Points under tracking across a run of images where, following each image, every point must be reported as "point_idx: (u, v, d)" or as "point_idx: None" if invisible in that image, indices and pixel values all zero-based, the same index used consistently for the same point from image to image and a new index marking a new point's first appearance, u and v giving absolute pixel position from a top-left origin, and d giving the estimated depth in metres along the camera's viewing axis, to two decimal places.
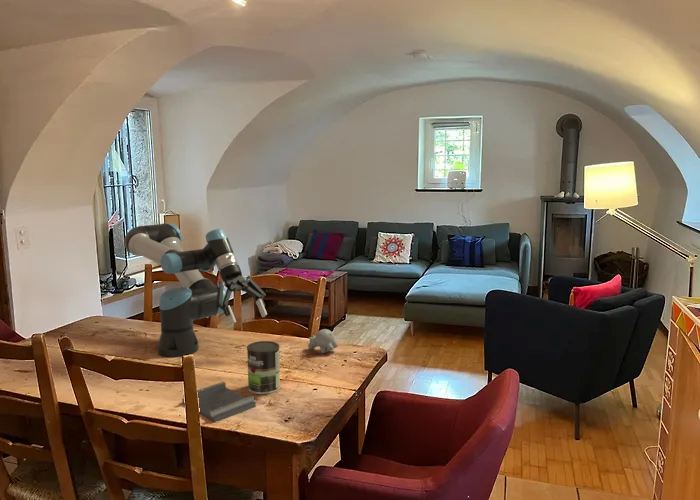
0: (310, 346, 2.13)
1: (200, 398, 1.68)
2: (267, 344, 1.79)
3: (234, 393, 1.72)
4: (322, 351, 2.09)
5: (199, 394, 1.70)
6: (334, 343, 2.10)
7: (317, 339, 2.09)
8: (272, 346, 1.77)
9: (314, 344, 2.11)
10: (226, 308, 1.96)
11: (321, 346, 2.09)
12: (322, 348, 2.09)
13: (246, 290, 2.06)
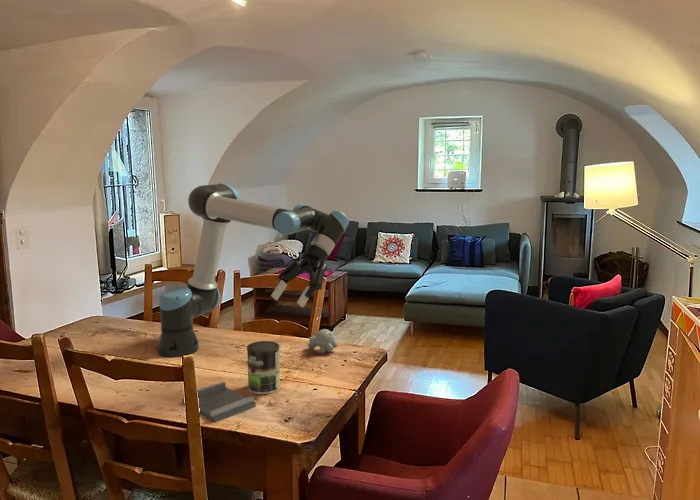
0: (310, 346, 2.13)
1: (200, 398, 1.68)
2: (267, 344, 1.79)
3: (234, 393, 1.72)
4: (322, 351, 2.09)
5: (199, 394, 1.70)
6: (334, 343, 2.10)
7: (317, 339, 2.09)
8: (272, 346, 1.77)
9: (314, 344, 2.11)
10: None
11: (321, 346, 2.09)
12: (322, 348, 2.09)
13: (297, 272, 1.88)
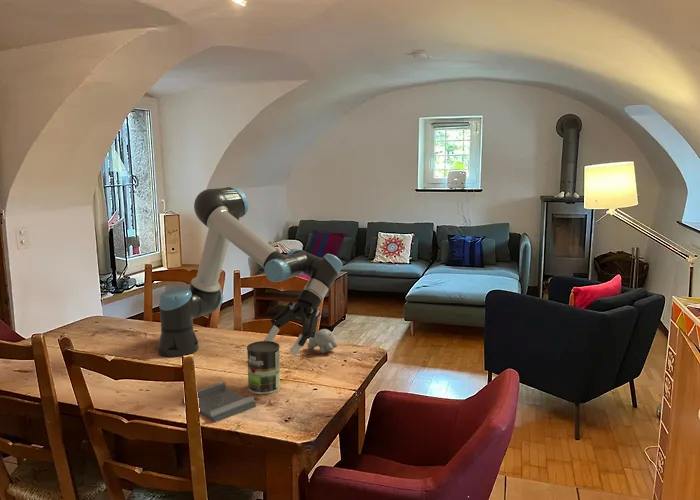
0: (309, 346, 2.13)
1: (200, 398, 1.68)
2: (267, 344, 1.79)
3: (234, 393, 1.72)
4: (321, 351, 2.09)
5: (199, 394, 1.70)
6: (333, 343, 2.10)
7: (316, 339, 2.09)
8: (272, 346, 1.77)
9: (313, 344, 2.11)
10: None
11: (320, 346, 2.09)
12: (321, 348, 2.09)
13: (290, 317, 1.87)
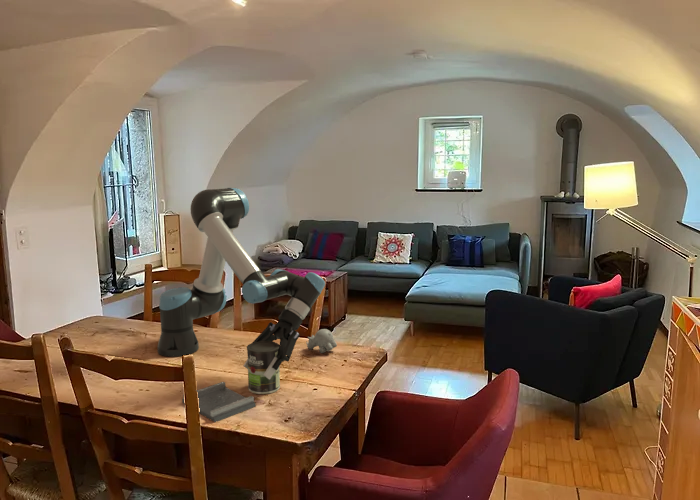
0: (309, 346, 2.13)
1: (200, 398, 1.68)
2: (267, 343, 1.79)
3: (234, 393, 1.72)
4: (321, 351, 2.09)
5: (199, 394, 1.70)
6: (333, 343, 2.11)
7: (316, 339, 2.09)
8: (272, 346, 1.77)
9: (313, 344, 2.11)
10: None
11: (320, 346, 2.09)
12: (321, 348, 2.09)
13: (271, 338, 1.82)
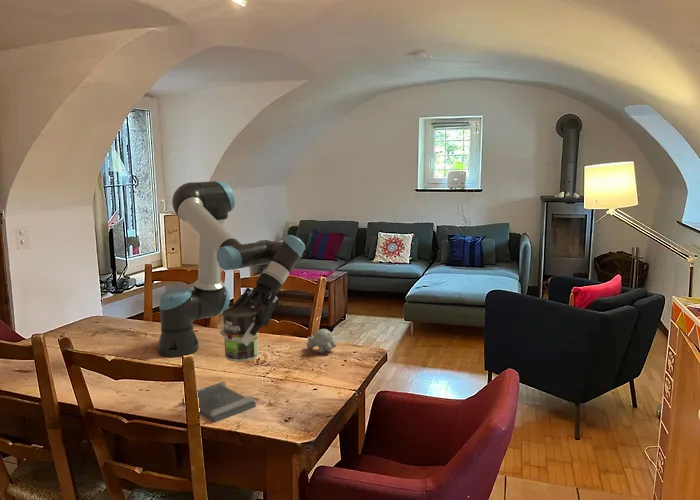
0: (309, 346, 2.13)
1: (200, 398, 1.68)
2: (244, 309, 1.70)
3: (234, 393, 1.72)
4: (321, 351, 2.09)
5: (199, 394, 1.70)
6: (332, 343, 2.11)
7: (316, 339, 2.09)
8: (249, 311, 1.67)
9: (313, 344, 2.12)
10: None
11: (320, 346, 2.09)
12: (320, 348, 2.09)
13: (248, 304, 1.73)
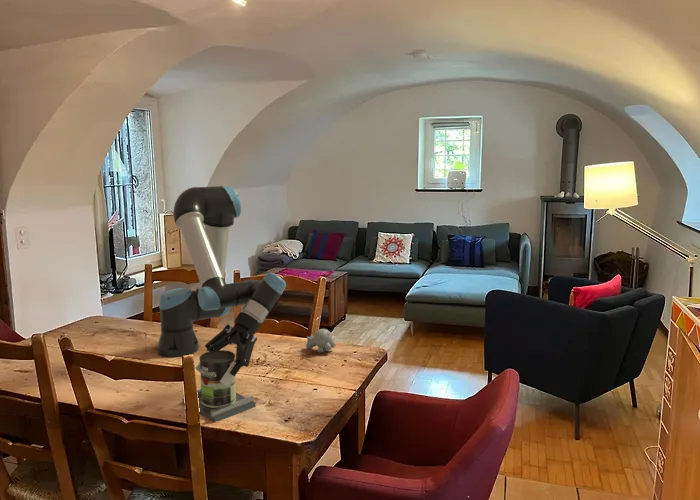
0: (308, 346, 2.13)
1: (200, 398, 1.68)
2: (222, 353, 1.67)
3: None
4: (320, 351, 2.09)
5: (199, 394, 1.70)
6: (332, 343, 2.11)
7: (315, 339, 2.09)
8: (227, 356, 1.64)
9: (312, 344, 2.12)
10: None
11: (319, 346, 2.09)
12: (320, 348, 2.09)
13: (225, 342, 1.70)
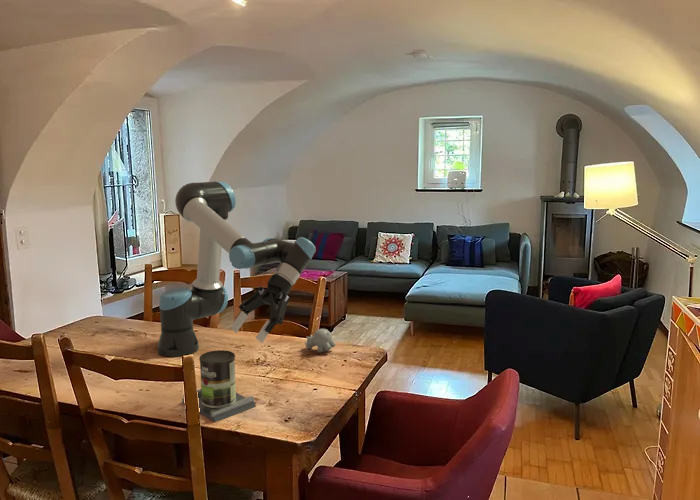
0: (308, 346, 2.13)
1: (200, 398, 1.68)
2: (222, 353, 1.67)
3: None
4: (320, 350, 2.09)
5: (199, 394, 1.70)
6: (332, 342, 2.11)
7: (315, 339, 2.09)
8: (227, 356, 1.64)
9: (312, 344, 2.12)
10: None
11: (319, 345, 2.09)
12: (319, 348, 2.09)
13: (258, 303, 1.78)
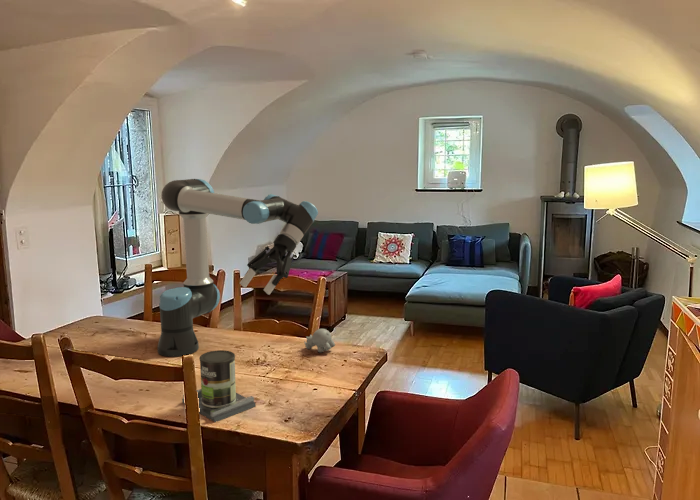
0: (307, 345, 2.13)
1: (200, 398, 1.68)
2: (222, 353, 1.67)
3: None
4: (319, 350, 2.09)
5: (199, 394, 1.70)
6: (331, 342, 2.11)
7: (314, 338, 2.09)
8: (227, 356, 1.64)
9: (311, 343, 2.12)
10: None
11: (318, 345, 2.09)
12: (319, 348, 2.09)
13: (265, 261, 1.93)
